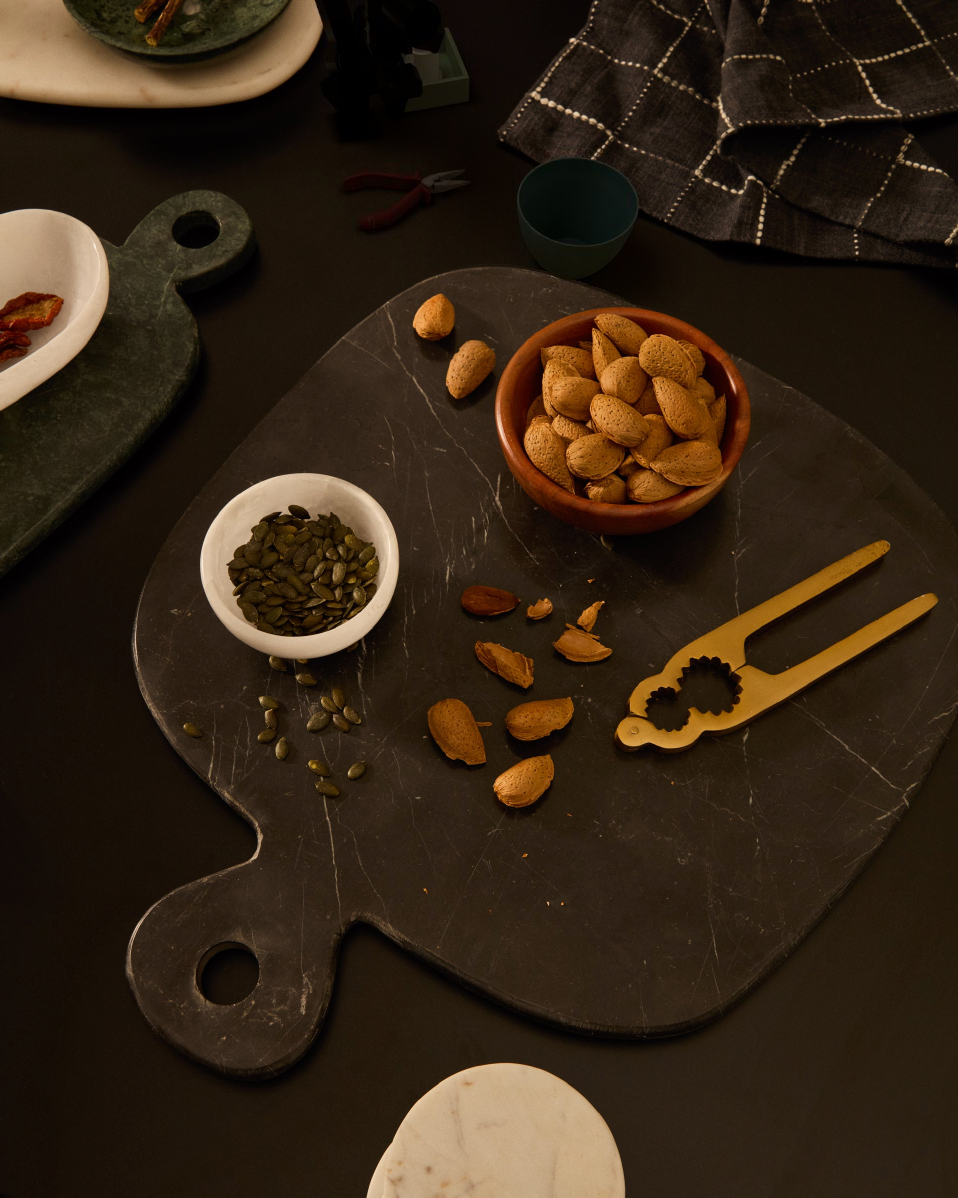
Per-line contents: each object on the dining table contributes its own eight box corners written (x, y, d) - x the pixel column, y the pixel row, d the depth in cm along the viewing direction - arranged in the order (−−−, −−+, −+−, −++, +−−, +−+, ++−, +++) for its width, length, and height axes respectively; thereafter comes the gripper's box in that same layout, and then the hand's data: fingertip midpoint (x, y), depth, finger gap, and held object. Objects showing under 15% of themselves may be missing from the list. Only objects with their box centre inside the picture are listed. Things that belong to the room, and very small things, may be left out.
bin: (375, 63, 175) (373, 39, 171) (448, 51, 177) (448, 27, 173) (393, 114, 170) (392, 90, 165) (468, 101, 172) (469, 77, 167)
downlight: (419, 58, 175) (418, 3, 166) (451, 73, 174) (452, 19, 164) (393, 82, 172) (390, 28, 163) (425, 98, 171) (424, 45, 162)
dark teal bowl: (646, 252, 157) (661, 191, 146) (585, 322, 151) (595, 264, 140) (554, 202, 162) (561, 139, 151) (490, 268, 155) (493, 207, 144)
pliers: (479, 205, 161) (479, 192, 158) (362, 235, 157) (361, 222, 155) (455, 158, 165) (455, 145, 163) (342, 186, 162) (340, 173, 160)
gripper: (457, 36, 135) (456, 133, 149) (422, -45, 143) (425, 54, 157) (378, 49, 134) (385, 146, 148) (348, -34, 141) (357, 66, 155)
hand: (390, 101), depth 152 cm, fingers open, 9 cm apart
